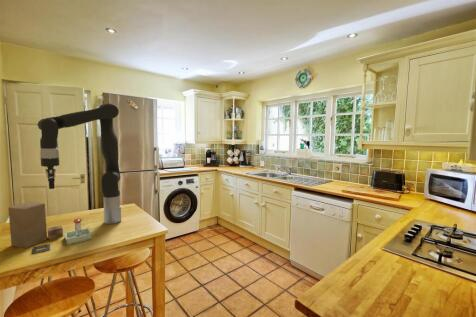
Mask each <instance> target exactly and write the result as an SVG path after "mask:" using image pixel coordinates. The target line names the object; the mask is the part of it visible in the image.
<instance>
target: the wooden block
mask: <svg viewBox="0 0 476 317" xmlns="http://www.w3.org/2000/svg"><path fill="white" fill-rule="evenodd" d="M8 220H9V229H10V230H9V231H10V242H11V243H10V244H11V246H13V247H17V248H18V247H19V248H24V249H27V248H31V247H34V246H35V245H37V244H40V243H42V242H44V241H45V240H48V227H47V216H46V203H44V202H35V201H28V202H22V203H21V204H17V205H12V206H9V207H8Z"/></svg>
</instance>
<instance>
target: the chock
mask: <svg viewBox="0 0 476 317" xmlns="http://www.w3.org/2000/svg"><path fill="white" fill-rule="evenodd" d="M63 228H64V227H63V226H62V225H57V226H52V227H51V226H50V227H47V239H48V240H49V241H50V240H53V239H57V238H62V237H64V232H63V231H64V230H63Z"/></svg>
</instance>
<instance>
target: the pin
mask: <svg viewBox="0 0 476 317" xmlns="http://www.w3.org/2000/svg"><path fill="white" fill-rule="evenodd" d="M73 223H74V231H75V235H76V237H78V236H81V229H82V226H81V225H82V218H75V219H73Z"/></svg>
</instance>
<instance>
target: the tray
mask: <svg viewBox="0 0 476 317" xmlns="http://www.w3.org/2000/svg"><path fill="white" fill-rule="evenodd" d="M64 237H65V239H64V240H65V244H66V246H68V245H69V246H70V245H74V244H78V243H82V242H85V241H89V240H93V236H92V231H91V229H90V227H85V228H81V236H78V237H76V235H75V230H72V231H71V230H70V231H66V232H65V233H64Z"/></svg>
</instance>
